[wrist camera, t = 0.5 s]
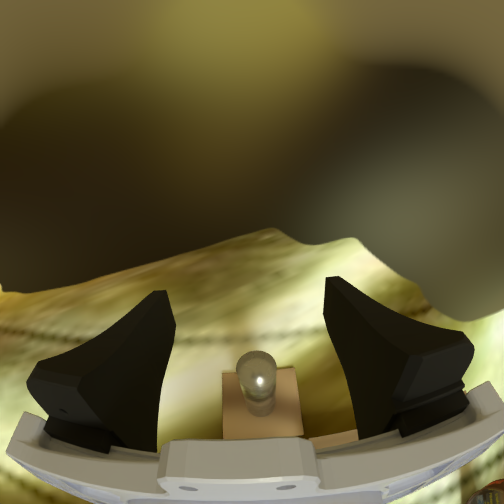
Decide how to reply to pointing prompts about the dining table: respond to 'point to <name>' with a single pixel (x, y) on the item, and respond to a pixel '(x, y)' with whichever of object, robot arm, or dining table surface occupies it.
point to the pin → (258, 382)
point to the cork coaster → (275, 424)
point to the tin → (489, 494)
